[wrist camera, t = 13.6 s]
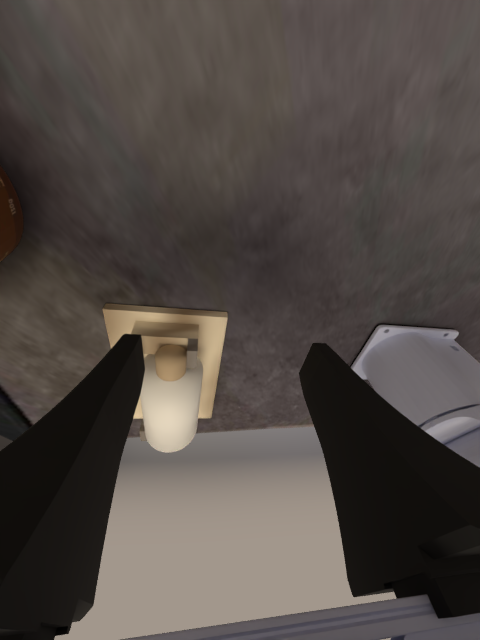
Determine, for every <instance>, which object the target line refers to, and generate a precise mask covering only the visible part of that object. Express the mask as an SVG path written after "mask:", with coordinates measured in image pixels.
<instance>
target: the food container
mask: <svg viewBox="0 0 480 640" xmlns="http://www.w3.org/2000/svg"><path fill="white" fill-rule="evenodd" d="M23 228H24V226H23V213H22V208H21V204H20V201H19V199H18V196H17V193H16V191H15V189H14V187H13V185H12V183H11V181H10V179H9V177H8V176H7V174H6V173H5V171H4V170H3V168H2V167H1V165H0V262H1V261H2V260H3V259H4V258H5V257H6V256H8V255H9V254H10V253H11V252H12V251H13V250H14V249H15V248H16V247H17V245H18V244H19V242H20V240H21V237H22V233H23Z"/></svg>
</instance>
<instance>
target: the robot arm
mask: <svg viewBox="0 0 480 640" xmlns="http://www.w3.org/2000/svg"><path fill="white" fill-rule="evenodd" d="M458 334H459V333H458V331H456V330H451V329H437V328H422V327H408V326H394V325H379V326H378V327H377V328H376V329H375V331H374V332H373V334H372V335H371V337H370V338H369V340H368V341H367V343H366V345H365V346H364V348H363V349H362V351H361V352H360V354H359V355H358V357H357V359H356V360H355V362H354V363H353V365H352V366H351V368H350V367H349V366H348V365H347V364H346V363H345V362H344V361H343V360H342V359H341V358H340V357H339V356H338V355H337V354H336V353H335V352H334V351H333V350H332V349H331V348H330V347H329V346H328V345H327V344H325V343H313V344H312V346H311V348H310V350H309V353H308V355H307V357H306V359H305V361H304V364H303V366H302V368H301V370H300V372H299V376H300V381H301V386H302V390H303V395H304V398H305V401H306V404H307V407H308V410H309V413H310V415H311V418H312V421H313V424H314V427H315V430H316V432H317V435H318V438H319V441H320V444H321V447H322V450H323V453H324V458H325V462H326V466H327V470H328V474H329V478H330V482H331V487H332V491H333V496H334V500H335V506H336V510H337V516H338V521H339V527H340V532H341V538H342V545H343V551H344V557H345V564H346V571H347V578H348V582H349V585H350V589H351V592H352V595H353V597H358V596H366V595H373V594H380V593H387V592H393V591H394V592H395V595H396V597H397V599H392V600H385V601H378V602H372V603H365V604H358V605H351V606H344V607H338V608H331V609H324V610H317V611H310V612H304V613H297V614H290V615H284V616H277V617H270V618H263V619H256V620H250V621H243V622H236V623H229V624H223V625H216V626H209V627H202V628H196V629H189V630H182V631H175V632H169V633H162V634H155V635H148V636H142V637H135V638H128V639H121V640H380V639H386V638H391V637H392V638H391V640H480V363H479V362H478V361H477V360H476V359H474V358H473V357H472V356H471V355H470V354H469V353H468V352H467V351H466V350H464V349H463V348H462V347H461V346H460V345H459V344H458V343H457V342H456V341H455V340H454V339H455V338H456V337H457V336H458ZM144 373H145V364H144V355H143V346H142V337H141V334H124V335H122V336H121V338H120V339H119V340H118V341H117V343H116V344H115V345H114V346H113V347H112V349H111V350H110V351H109V352H108V353H107V354H106V355H105V357H104V358H103V359H102V360H101V361H100V362H99V363H98V364H97V365H96V366H95V368H94V369H93V370H92V371H91V372H90V373H89V374H88V375H87V376H86V377H85V378H84V379H83V380H82V381H81V382H80V383H79V384H78V385H77V386H76V387H75V388H74V389H73V390H72V391H71V392H70V393H69V394H68V395H67V396H66V397H65V398H64V399H63V400H62V401H61V402H59V403H58V404H57V405H56V406H55V407H54V408H53V409H52V410H51V411H49V412H48V413H47V414H46V415H45V416H44V417H42V418H41V419H40V420H39V421H38V422H37V423H35V424H34V425H33V426H32V427H30V428H29V429H28V430H27V431H25V432H24V433H23V434H22V435H20V436H19V437H18V438H17V439H15V440H14V441H13V442H12V443H10V444H9V445H8V446H6V447H5V448H4V449H2V450H1V451H0V640H54V637H55V636H57V635H63V634H68V633H69V631H70V628H71V624H72V622H77V621H80V620H81V619H82V618H83V617H84V616H85V615H86V614H87V612H88V611H89V610H90V609H91V607H92V606H93V604H94V598H95V592H96V585H97V580H98V574H99V568H100V562H101V556H102V551H103V545H104V540H105V534H106V529H107V523H108V518H109V513H110V508H111V503H112V498H113V493H114V488H115V483H116V479H117V474H118V469H119V465H120V460H121V456H122V453H123V449H124V445H125V442H126V439H127V436H128V433H129V430H130V426H131V423H132V420H133V417H134V414H135V410H136V407H137V404H138V400H139V397H140V394H141V389H142V384H143V378H144ZM363 379H368V380H369V382H370V384H371V385H372V387H373V388H374V390H373V389H372V388H371V387H370V386H369V385H368V384H367V383H366V382H365V381H364V380H363Z"/></svg>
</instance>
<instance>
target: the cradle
mask: <svg viewBox="0 0 480 640" xmlns="http://www.w3.org/2000/svg"><path fill="white" fill-rule="evenodd" d="M103 313H104V318H105V323H106V327H107V332H108V337H109V341H110V346H111V349H112V347H113V346H114V345H115V344H116V343H117V341H118V340H119V339H120V338H121V336H122V335H124V334H141V337H142V346H143V355H144V358H145V357H146V356H147V355H149V354H156V352H157V350H158V349H159V348H161V347H163V346H165V345H171V344H173V345H178V346H181V347H182V348H184V349H185V351H186V353H187V361H186V368H196V364H197V357H198V358H199V359H200V361H201V363H202V365H203V377H202V386H201V395H200V404H199V414H198V418H211V415H212V409H213V403H214V397H215V391H216V385H217V379H218V373H219V367H220V361H221V355H222V349H223V343H224V337H225V331H226V325H227V319H228V316H227V312H219V311H205V310H191V309H178V308H164V307H150V306H136V305H122V304H108V303H106V304H105V306H104V308H103ZM133 418H142V422H141V427H140V431H139V432H140V438H141V441H147V439H146V436H145V428H144V421H143V414H142V406H141V399H140V397H139V400H138V404H137V407H136V410H135V414H134V417H133Z"/></svg>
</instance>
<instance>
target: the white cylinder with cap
mask: <svg viewBox="0 0 480 640" xmlns="http://www.w3.org/2000/svg"><path fill="white" fill-rule="evenodd" d="M186 361H187V353H186V351H185V349H184V348H182V347H181V346H178V345H173V344H171V345H165V346H163V347H161V348H159V349H158V350H157V352H156V354H149V355H147V356H146V357H145V358H144V364H145V373H144V378H143V384H142V389H141V394H140V399H141V406H142V414H143V421H144V428H145V436H146V439H147V441H148V443H149V444H150V445H151V446H152V447H153V448H155V449H156V450H158V451H161V452H175V451H178V450H181V449H183V448H184V447H186V446H187V445H188V444H189V443H190V442H191V441H192V439H193V438H194V436H195V434H196V431H197V423H198V414H199V404H200V395H201V386H202V377H203V365H202V363H201V361H200V359H199V358H198V357H197V364H196V368H186Z"/></svg>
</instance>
